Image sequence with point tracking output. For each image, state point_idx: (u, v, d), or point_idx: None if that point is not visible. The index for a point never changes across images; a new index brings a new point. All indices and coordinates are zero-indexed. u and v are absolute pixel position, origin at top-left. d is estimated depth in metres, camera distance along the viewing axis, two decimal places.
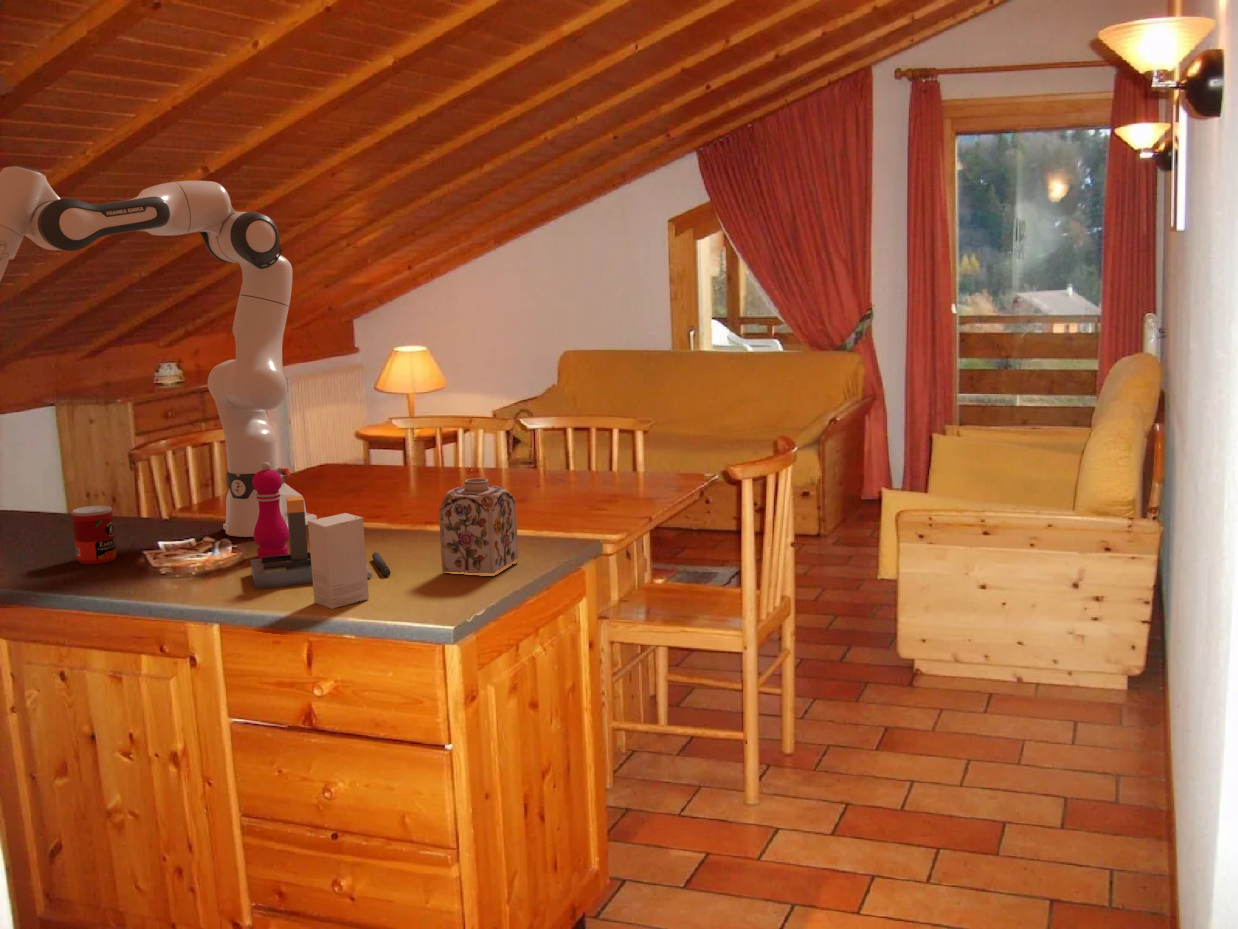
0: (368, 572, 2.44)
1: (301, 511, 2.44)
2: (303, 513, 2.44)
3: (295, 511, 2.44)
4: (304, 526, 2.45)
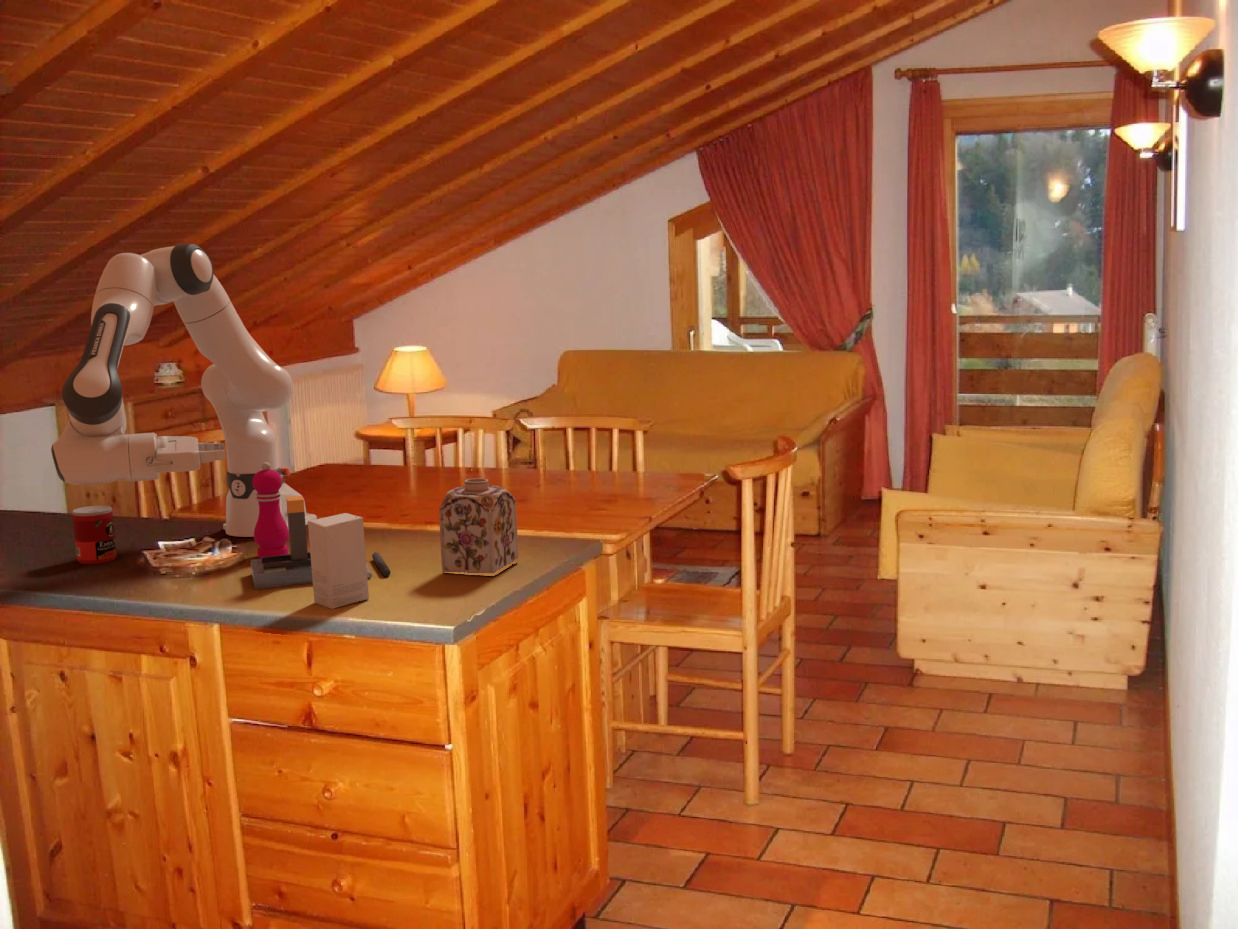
0: (368, 572, 2.44)
1: (301, 511, 2.44)
2: (303, 513, 2.44)
3: (295, 511, 2.44)
4: (304, 526, 2.45)
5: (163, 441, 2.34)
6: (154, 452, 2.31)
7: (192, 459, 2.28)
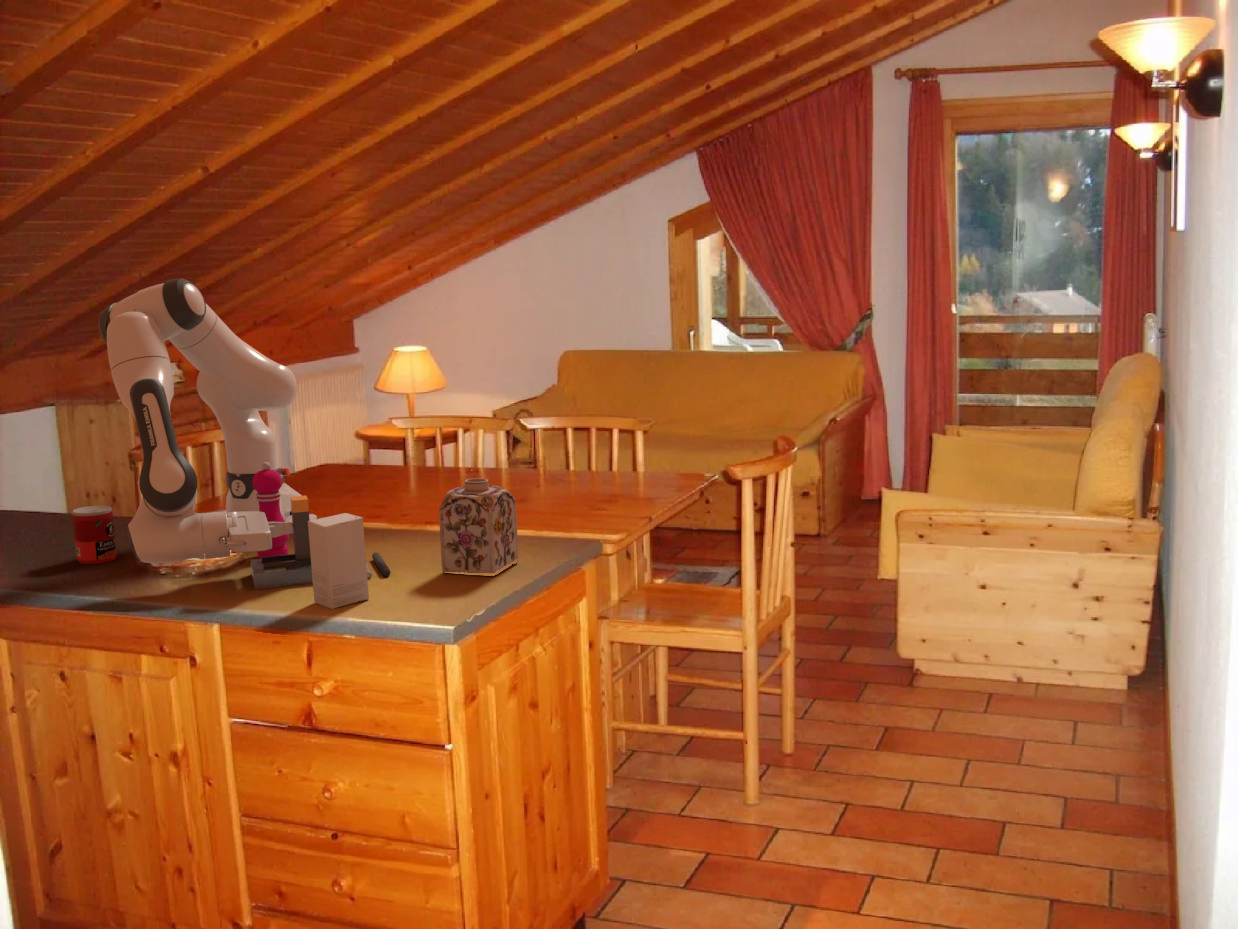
0: (368, 572, 2.44)
1: (305, 511, 2.44)
2: (307, 513, 2.44)
3: (299, 511, 2.44)
4: None
5: (234, 520, 2.41)
6: (227, 531, 2.38)
7: (264, 540, 2.35)
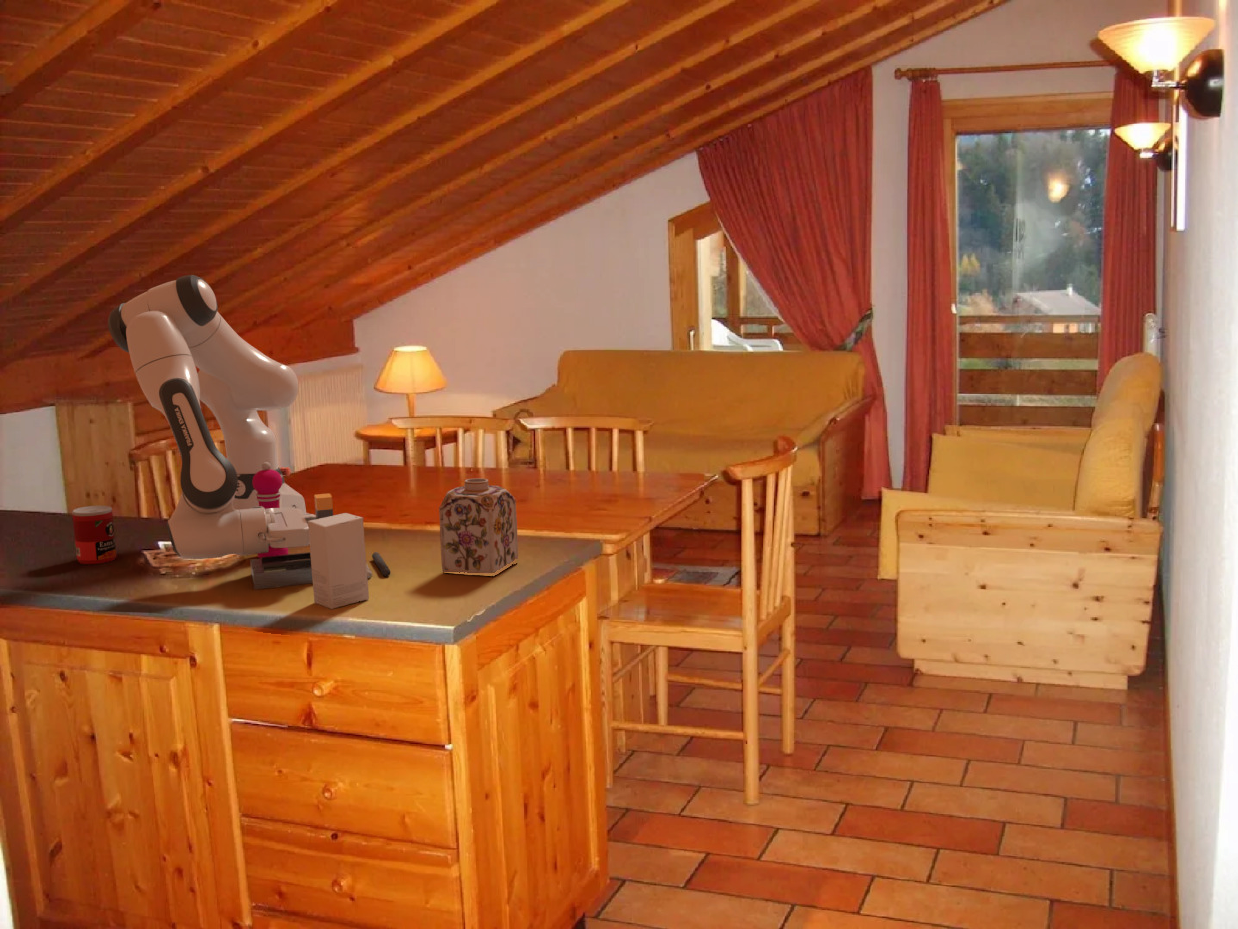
0: (368, 572, 2.44)
1: (329, 508, 2.46)
2: (331, 510, 2.46)
3: (323, 508, 2.45)
4: None
5: (273, 516, 2.43)
6: (265, 528, 2.40)
7: (303, 535, 2.37)
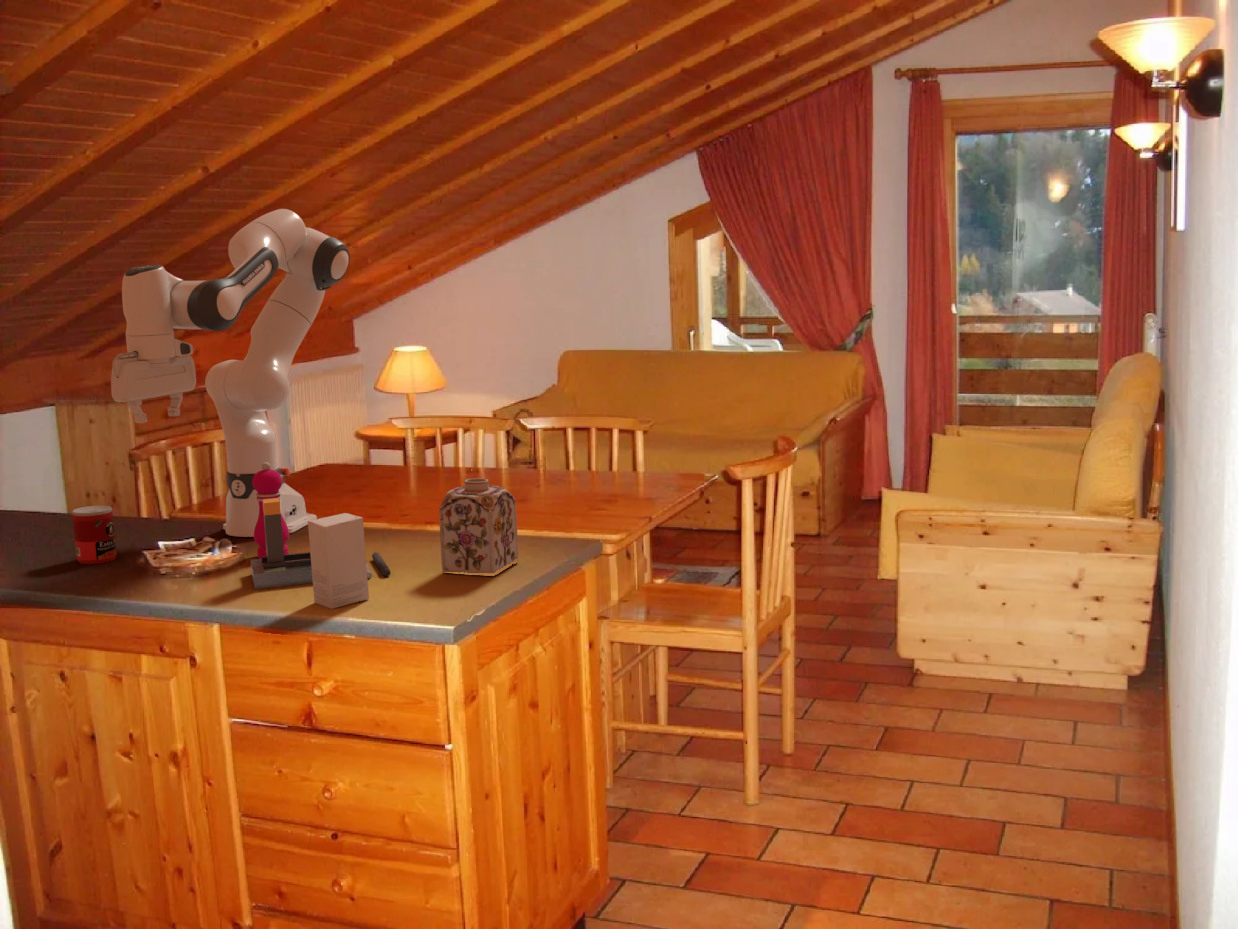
0: (368, 572, 2.44)
1: (277, 513, 2.43)
2: (279, 515, 2.43)
3: (271, 513, 2.42)
4: (280, 528, 2.43)
5: (158, 365, 2.45)
6: (142, 358, 2.42)
7: (119, 395, 2.38)
